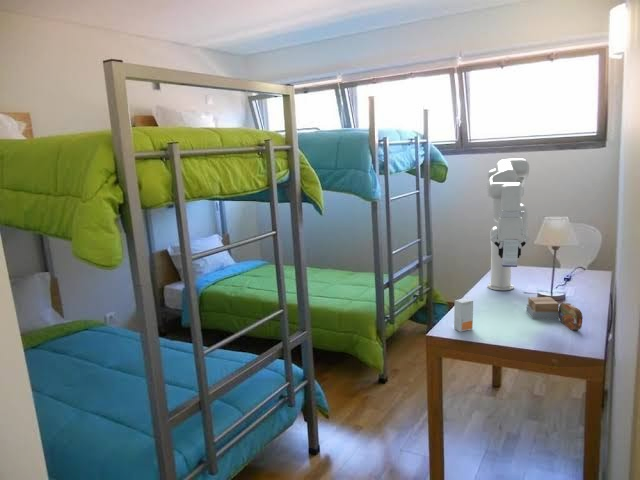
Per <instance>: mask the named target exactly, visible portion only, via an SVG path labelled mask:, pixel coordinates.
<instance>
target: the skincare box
mask: <svg viewBox="0 0 640 480" xmlns="http://www.w3.org/2000/svg"><path fill="white" fill-rule="evenodd" d="M453 310H454V311H453V312H454V313H453V315H454V316H453V317H454V319H453V320H454V321H453V328H454V329H455V330H456V331H459V332H460V333H461V332H465V331H470V330H473V326H474V323H473V321H474V320H473V318H474V300H473V299H469V298H468V297H465V298H460V299H454V309H453Z"/></svg>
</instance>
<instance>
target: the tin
mask: <svg viewBox="0 0 640 480" xmlns="http://www.w3.org/2000/svg"><path fill="white" fill-rule="evenodd" d="M559 304H560V305H559V308H558V314H559V319H558V320H559V321H560V322H561V324H562V325H564V326H565V327H566V328H568V329H569V330H571V331H573V330H574V331H575V330H577V331H578V330H580V329H581V328H582V326H583V317H584V316H583V314H582V311H581V309H580V308H577V307H576V306H574V305H572V303H569V302H568V303H567V302H562V303H559Z"/></svg>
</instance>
